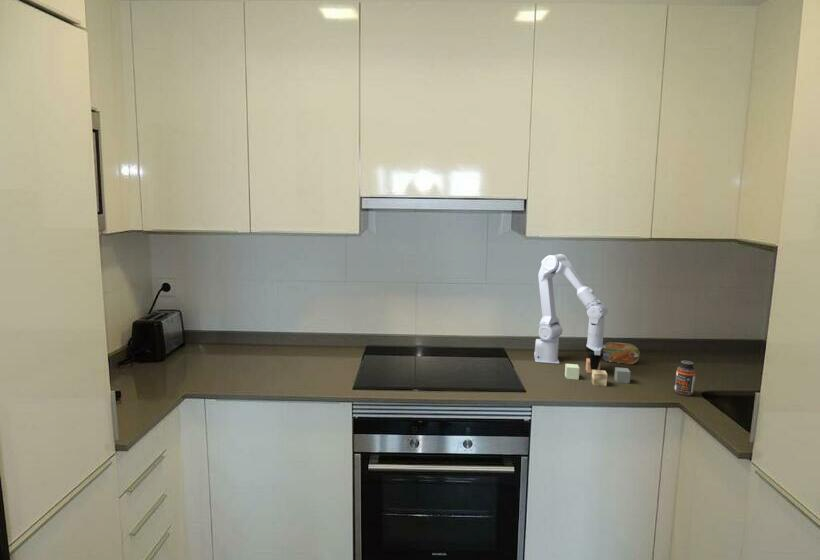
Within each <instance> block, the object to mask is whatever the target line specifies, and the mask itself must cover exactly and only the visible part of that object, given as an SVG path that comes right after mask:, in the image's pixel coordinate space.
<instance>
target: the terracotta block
mask: <svg viewBox="0 0 820 560" xmlns="http://www.w3.org/2000/svg"><path fill="white" fill-rule="evenodd" d="M585 359H586V361H585V371H586V373H587V374H592V370H591V366H590V358H588V357H586V358H585ZM597 370H601V361H600V362H599V365H598V369H597Z"/></svg>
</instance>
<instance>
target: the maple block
mask: <svg viewBox="0 0 820 560" xmlns="http://www.w3.org/2000/svg"><path fill="white" fill-rule="evenodd" d="M590 381H591V383H592V385H593V386H597V387H599V386H600V387H607V384H608V383H607V382H608V373H607V371H606V370H601V369H600V370H592V373H591V380H590Z"/></svg>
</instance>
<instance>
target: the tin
mask: <svg viewBox="0 0 820 560" xmlns="http://www.w3.org/2000/svg"><path fill="white" fill-rule="evenodd" d="M603 345H605V346H606V348H602V350H601V352H600V353H603V354H604V355H603V357H602V358H601V359H603V360H604V361H605V362H607V361H609V362H608V363H610V362H617V363H616V364H620V363H627V364H626V365H634V364H636V363H637V362H638V361H639V359H640V358H641V353H640V350H639V348H638V347H637V346H636V345H634V344H632V343H626V342H625V343H624V342H623V343H622V342H613V341H609V342H606V343H603Z"/></svg>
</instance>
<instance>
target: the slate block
mask: <svg viewBox="0 0 820 560" xmlns="http://www.w3.org/2000/svg"><path fill="white" fill-rule="evenodd" d="M613 376H614V377H613V379H614V381H615V382H616V383H619V384H628V383H630V382H631V371H630V369H629V368H628V367H618V366H617V367H616V366H615V367H614V375H613Z"/></svg>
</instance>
